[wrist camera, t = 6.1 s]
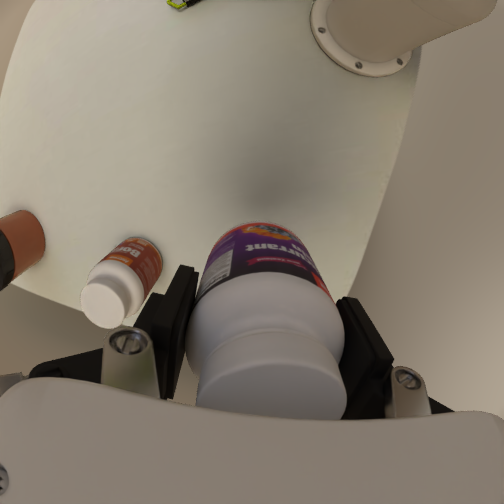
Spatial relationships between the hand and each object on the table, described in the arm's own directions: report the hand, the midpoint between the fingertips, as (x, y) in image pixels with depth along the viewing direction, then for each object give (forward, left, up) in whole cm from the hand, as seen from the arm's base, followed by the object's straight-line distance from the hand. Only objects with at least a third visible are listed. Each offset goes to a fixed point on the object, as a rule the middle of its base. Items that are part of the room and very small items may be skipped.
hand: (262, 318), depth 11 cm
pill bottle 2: (0, 0, -5) cm, 5 cm away
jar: (+10, -30, -22) cm, 39 cm away
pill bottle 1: (+9, -12, -22) cm, 27 cm away
